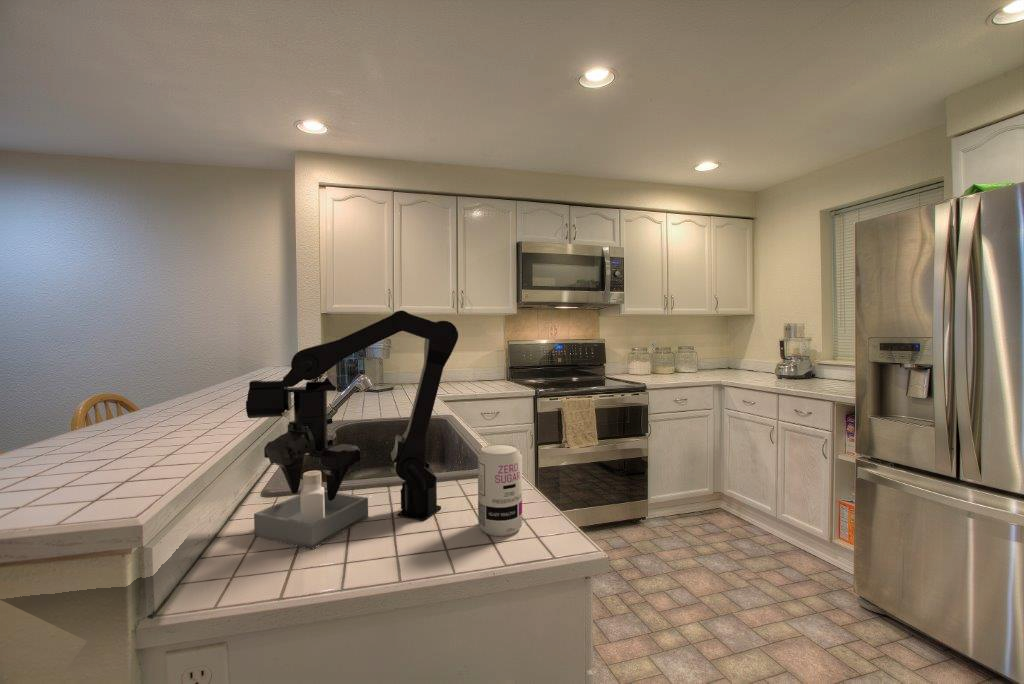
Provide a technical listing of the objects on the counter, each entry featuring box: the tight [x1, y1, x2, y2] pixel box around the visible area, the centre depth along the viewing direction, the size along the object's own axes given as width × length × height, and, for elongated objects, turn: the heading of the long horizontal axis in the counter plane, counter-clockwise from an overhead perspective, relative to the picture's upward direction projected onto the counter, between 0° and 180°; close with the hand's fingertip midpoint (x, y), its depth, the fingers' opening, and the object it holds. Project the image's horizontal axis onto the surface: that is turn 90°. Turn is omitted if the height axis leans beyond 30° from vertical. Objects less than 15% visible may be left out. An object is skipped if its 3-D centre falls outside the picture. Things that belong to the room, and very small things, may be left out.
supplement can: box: [477, 443, 523, 537], centre depth 86 cm, size 8×8×15 cm
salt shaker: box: [299, 470, 325, 524], centre depth 87 cm, size 4×4×10 cm
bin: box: [253, 489, 369, 550], centre depth 88 cm, size 14×14×4 cm
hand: (312, 496), depth 87 cm, fingers open, 9 cm apart
